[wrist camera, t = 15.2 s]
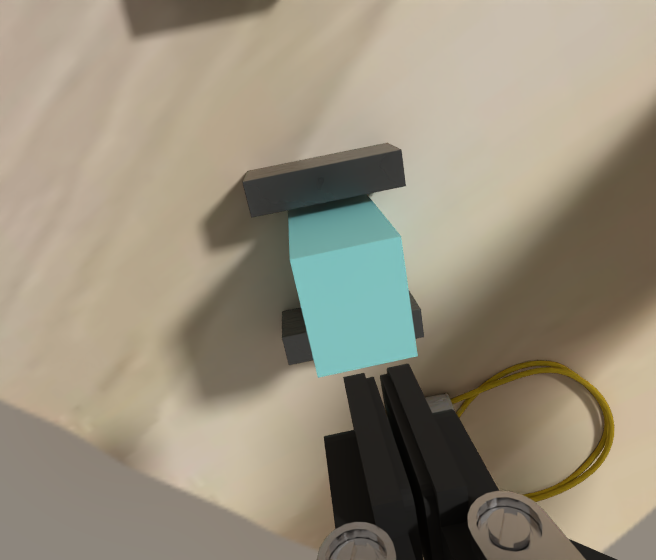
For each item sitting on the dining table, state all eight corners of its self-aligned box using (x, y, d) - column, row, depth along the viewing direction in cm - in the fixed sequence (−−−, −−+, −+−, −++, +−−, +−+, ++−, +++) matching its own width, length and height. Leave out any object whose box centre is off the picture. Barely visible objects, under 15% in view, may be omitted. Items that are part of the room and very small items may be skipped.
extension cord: (434, 310, 27) (445, 326, 26) (638, 392, 31) (661, 411, 29) (345, 465, 31) (349, 488, 29) (537, 522, 35) (551, 547, 33)
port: (387, 142, 23) (401, 149, 20) (409, 311, 27) (424, 337, 24) (247, 171, 23) (242, 181, 20) (288, 336, 27) (289, 365, 24)
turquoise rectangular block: (364, 191, 24) (400, 236, 17) (379, 280, 26) (417, 356, 18) (287, 208, 24) (289, 260, 17) (308, 295, 26) (318, 377, 18)
